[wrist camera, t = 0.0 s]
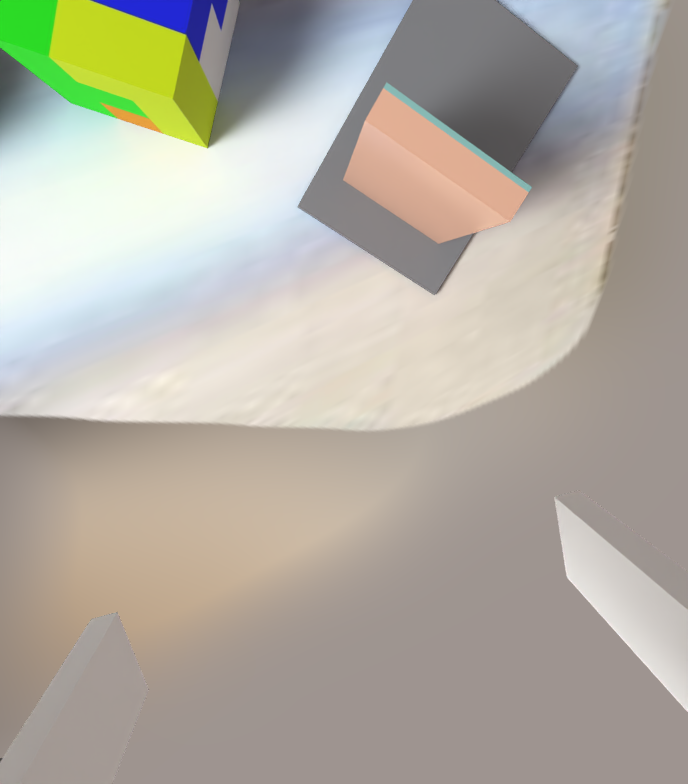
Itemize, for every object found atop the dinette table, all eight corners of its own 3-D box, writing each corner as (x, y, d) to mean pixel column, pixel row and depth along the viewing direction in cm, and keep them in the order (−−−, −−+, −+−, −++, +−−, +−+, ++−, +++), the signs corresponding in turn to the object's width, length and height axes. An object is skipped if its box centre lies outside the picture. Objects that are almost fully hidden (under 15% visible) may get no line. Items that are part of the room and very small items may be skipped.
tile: (438, 243, 39) (509, 221, 26) (342, 180, 38) (364, 120, 24) (452, 221, 39) (531, 187, 25) (356, 156, 37) (386, 82, 24)
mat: (433, 294, 40) (435, 294, 40) (297, 207, 38) (297, 206, 38) (574, 68, 38) (577, 65, 37) (436, -41, 35) (438, -45, 35)
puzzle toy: (239, 4, 35) (215, -104, 25) (207, 148, 37) (172, 99, 27) (97, -49, 34) (13, -184, 24) (71, 103, 36) (-17, 34, 26)
